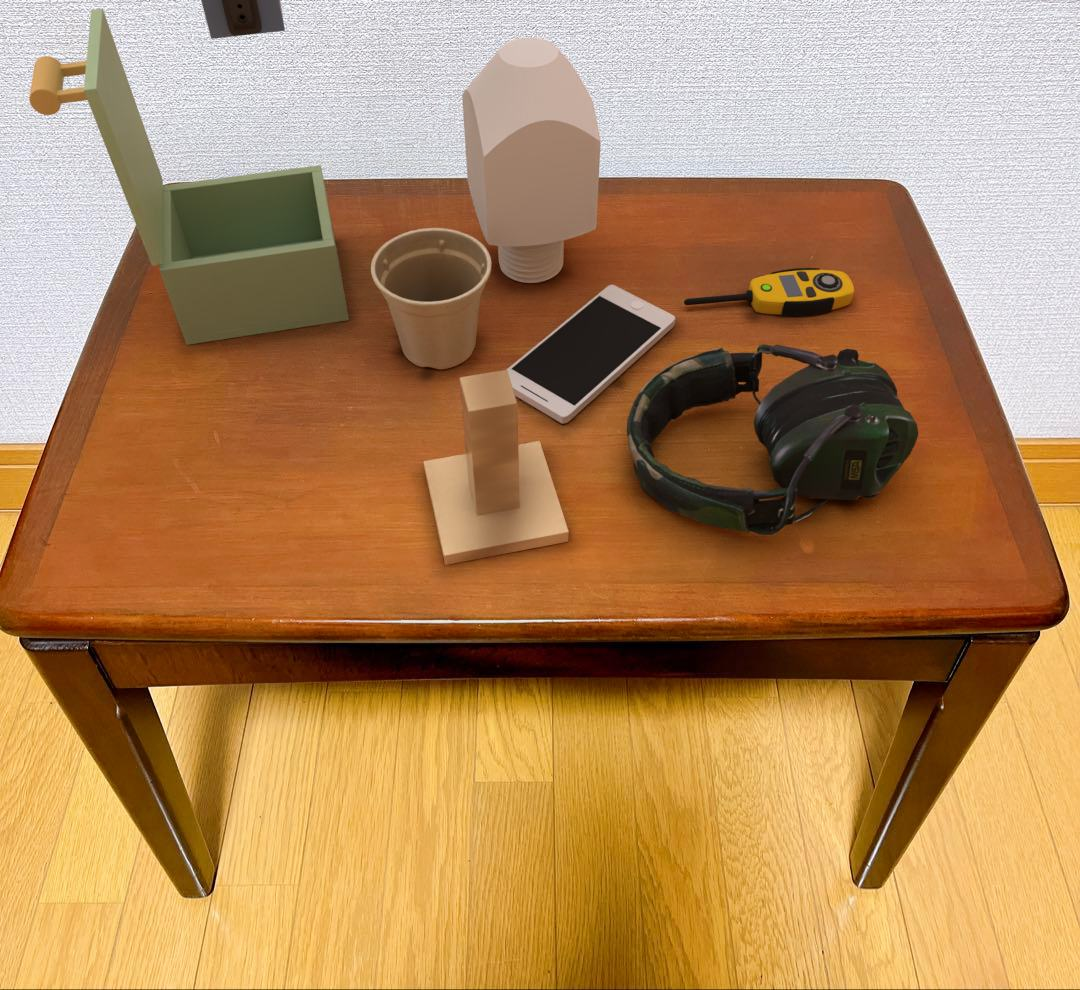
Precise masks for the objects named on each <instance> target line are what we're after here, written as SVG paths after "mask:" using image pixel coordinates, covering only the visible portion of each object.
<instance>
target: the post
mask: <svg viewBox="0 0 1080 990" xmlns="http://www.w3.org/2000/svg"><path fill="white" fill-rule="evenodd" d="M459 389H460V399H461V401H460V403H461V411H462V412H461V413H462V423H463V434H464V447H465V448H464V449H465V453H462V454H457V455H451V456H450V455H449V456H446V457H440V458H433V459H428V460H423V470H424V474H425V479H426V484H427V487H428V493H429V498H430V503H431V507H432V512H433V516H434V521H435V525H436V526H435V527H436V530H437V534H438V539H439V544H440V548H441V553H442V557H443V563H444V565H445V566H448V565H452V564H459V563H463V562H468V561H474V560H480V559H485V558H490V557H494V556H495V557H496V556H499V555H505V554H510V553H515V552H520V551H526V550H532V549H536V548H537V549H538V548H541V547H547V546H553V545H558V544H562V543H563V544H564V543H568V542H569V535H570V534H569V533H570V532H569V528H568V524H567V522H566V519H565V515H564V512H563V509H562V506H561V503H560V499H559V497H558V493H557V491H556V487H555V484H554V480H553V478H552V474H551V472H550V468H549V465H548V462H547V459H546V455H545V453H544V450H543V447H542V444H541V441H540V440H536V441H530V442H525V443H519V427H518V426H519V419H518V417H519V416H518V400H517V396H515V394H514V391H513V388H512V384H511V381H510V378H509V375H508V372H507V369H503V370H495V371H491V372H484V373H478V374H472V375H471V374H470V375H466V376H460V377H459Z"/></svg>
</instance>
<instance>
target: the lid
mask: <svg viewBox="0 0 1080 990" xmlns="http://www.w3.org/2000/svg"><path fill="white" fill-rule="evenodd" d="M89 18H90V19H89V30H88V31H89V32H88V39H87V49H86V50H87V53H86V60H83V61H75V62H66V63H61V62H60V60H58V59H57V58H55V57H54V56H53V57H52V56H49V55H43V56H40V57H38V58H37V59H36V60H35V62H34V65H33V72H32V78H31V85H30V91H29V97H28V99H29V100H28V101H29V104H30V107H32V109H33V110H34V111H35V112H37V113H38V114H40V115H44V116H52V115H55V114H57V113H58V112H59V111H60V109H61V106H62V104H70V103H76V102H83V101H87V103H88V105H89V108H90V110H91V113H92V115H93V118H94V121H95V123H96V125H97V129H98V131H99V133H100V136H101V139H102V141H103V144H104V146H105V149H106V151H107V154H108V156H109V159H110V161H111V164H112V166H113V167H112V168H113V169H114V172H115V175H116V177H117V180H118V182H119V185H120V187H121V190H122V193H123V195H124V198H125V201H126V203H127V205H128V207H129V210H130V213H131V214H132V218H133V220H134V223H135V225H136V228H137V231H138V233H139V236H140V238H141V241H142V243H143V246H144V248H145V251H146V254H147V257H148V259H149V261H150V264H151V267H155V266H160V265H162V264H163V186H164V179H163V177H162V176H163V175H162V174H161V171H160V168H159V165H158V162H157V159H156V155H155V154H154V151H153V148H152V145H151V142H150V139H149V137H148V134H147V131H146V128H145V125H144V122H143V120H142V116H141V114H140V111H139V108H138V105H137V101H136V99H135V97H134V94H133V91H132V88H131V85H130V82H129V80H128V77H127V74H126V70H125V68H124V65H123V62H122V60H121V57H120V54H119V51H118V49H117V46H116V42H115V40H114V36H113V34H112V31H111V28H110V26H109V22H108V19H107V17H106V14H105V11H104V9H103V8H95V9H94V8H93V9H91V10H90V17H89ZM80 75H84V83H83V86H81V87H74V88H73V87H72V88H66V89H64V83H65V82H64V80H65V78H67V77H74V76H80Z"/></svg>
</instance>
